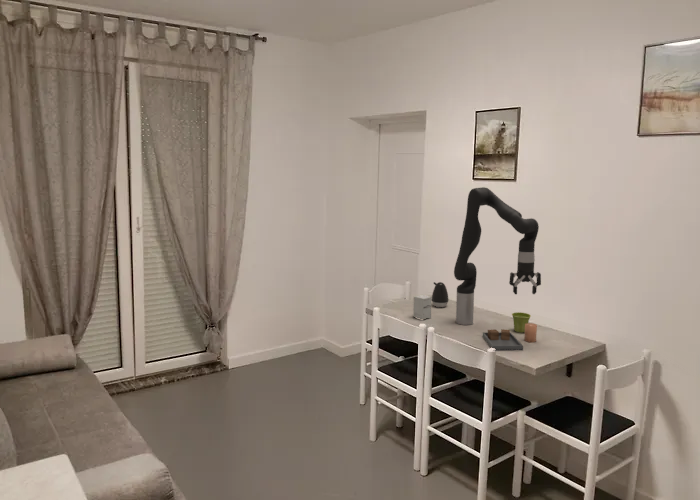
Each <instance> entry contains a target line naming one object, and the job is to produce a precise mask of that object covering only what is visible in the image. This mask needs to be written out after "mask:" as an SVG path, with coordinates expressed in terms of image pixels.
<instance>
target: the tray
mask: <svg viewBox="0 0 700 500" xmlns="http://www.w3.org/2000/svg"><path fill="white" fill-rule="evenodd" d="M498 332H499V340H490V339H489V338H488V331H487V332H486V331H485V332H482V334H481V335H482V338H483V340H484V341H485V342H486V343H487V344H488V346H489V347H490V348H491V347H492V348H495V349H496V350H495V351H524V345H523V344H522V343H521V341H519V340H518V338H517V337H515V335H513V334H512V332H511V331H510V340H501V331H498Z"/></svg>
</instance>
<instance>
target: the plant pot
mask: <svg viewBox="0 0 700 500" xmlns="http://www.w3.org/2000/svg"><path fill="white" fill-rule="evenodd" d="M511 315H512V319H513V321H512V322H513V330H514V331H515V332H516V333H519V334H520V333H525V324H526V323H530V322H529V321H530V318H531V317H532V316H531V314H529V313H527V312H520V311H519V312H518V311H517V312H513V313H511Z"/></svg>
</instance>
